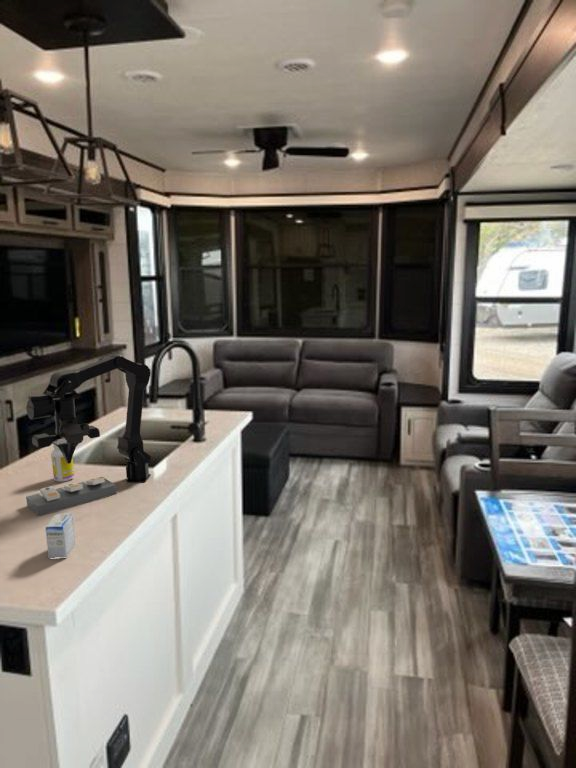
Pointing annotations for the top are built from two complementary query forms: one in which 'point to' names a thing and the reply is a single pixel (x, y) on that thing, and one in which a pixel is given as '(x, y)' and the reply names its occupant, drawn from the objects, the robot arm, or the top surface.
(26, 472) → the top surface
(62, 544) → the medicine box
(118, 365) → the robot arm
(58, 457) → the supplement bottle
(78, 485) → the rocker middle
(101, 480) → the block
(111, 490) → the rocker switch panel
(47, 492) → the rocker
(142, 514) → the top surface
